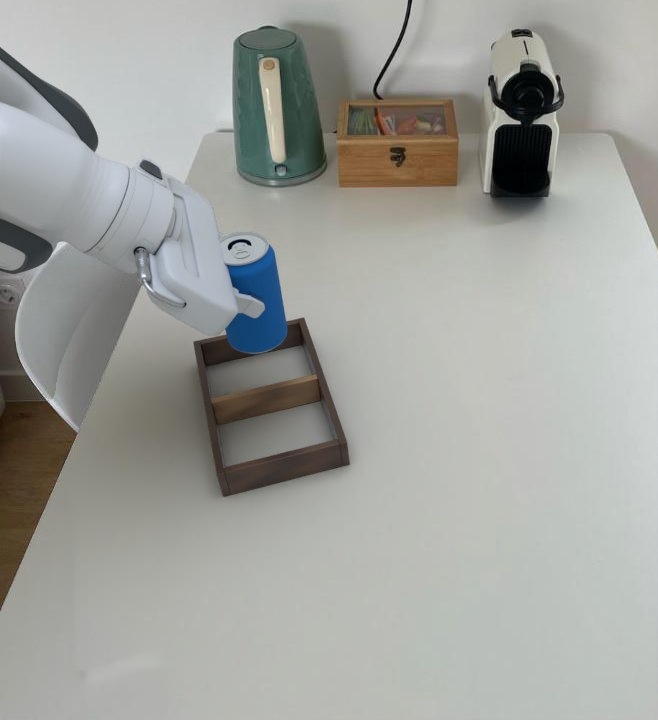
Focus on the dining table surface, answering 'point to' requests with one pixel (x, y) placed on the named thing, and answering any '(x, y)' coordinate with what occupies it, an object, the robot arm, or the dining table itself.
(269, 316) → the beverage can
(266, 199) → the dining table surface
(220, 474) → the tray
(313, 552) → the dining table surface
